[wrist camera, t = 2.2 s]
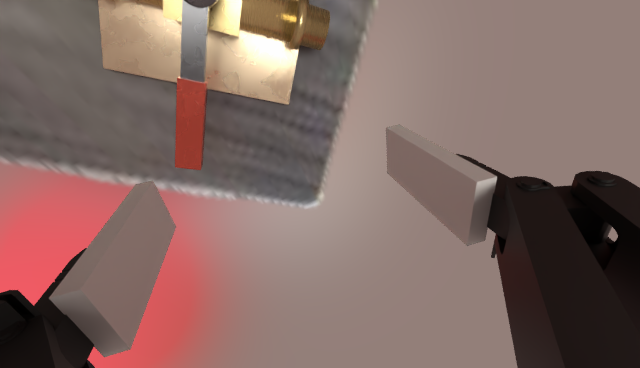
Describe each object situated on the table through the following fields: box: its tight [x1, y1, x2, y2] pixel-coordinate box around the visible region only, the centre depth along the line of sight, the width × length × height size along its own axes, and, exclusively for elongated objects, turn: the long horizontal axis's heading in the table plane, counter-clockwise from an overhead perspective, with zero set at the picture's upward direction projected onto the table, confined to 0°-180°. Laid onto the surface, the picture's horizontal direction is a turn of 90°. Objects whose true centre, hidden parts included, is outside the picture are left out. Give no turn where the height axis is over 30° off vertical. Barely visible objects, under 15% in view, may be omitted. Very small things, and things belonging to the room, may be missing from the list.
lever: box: [175, 0, 218, 170], centre depth 23 cm, size 17×3×2 cm, turn 166°
